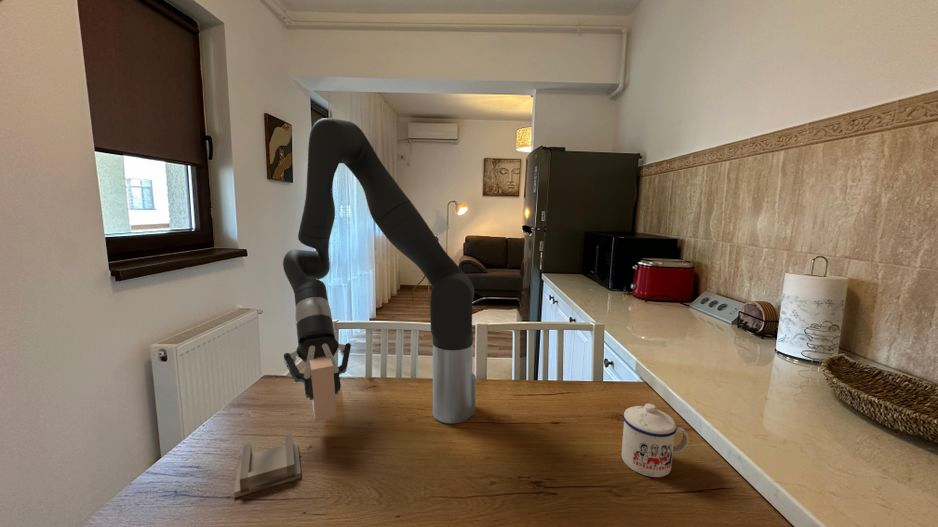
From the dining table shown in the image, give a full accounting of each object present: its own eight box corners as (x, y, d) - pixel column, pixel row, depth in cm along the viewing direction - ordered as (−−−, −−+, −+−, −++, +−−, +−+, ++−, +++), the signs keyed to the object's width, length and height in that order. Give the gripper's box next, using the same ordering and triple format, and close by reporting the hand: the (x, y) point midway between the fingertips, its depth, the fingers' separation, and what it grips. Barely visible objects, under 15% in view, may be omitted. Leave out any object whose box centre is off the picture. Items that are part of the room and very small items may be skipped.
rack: (297, 446, 74) (296, 432, 73) (301, 477, 65) (300, 462, 65) (239, 461, 69) (238, 446, 69) (234, 497, 60) (233, 481, 60)
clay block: (332, 403, 80) (329, 355, 78) (336, 416, 75) (333, 365, 73) (312, 407, 78) (309, 358, 76) (315, 422, 73) (311, 369, 71)
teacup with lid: (630, 478, 66) (635, 418, 64) (613, 446, 75) (617, 392, 73) (698, 481, 65) (705, 420, 64) (673, 448, 74) (678, 395, 73)
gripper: (278, 318, 77) (284, 398, 68) (348, 309, 83) (362, 381, 74) (280, 334, 82) (285, 411, 73) (345, 325, 89) (358, 394, 80)
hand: (324, 395), depth 74 cm, fingers closed on clay block, 4 cm apart
